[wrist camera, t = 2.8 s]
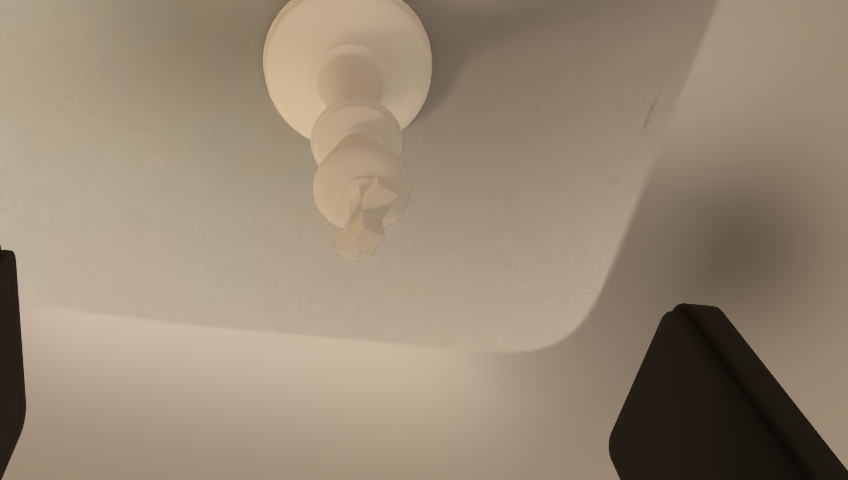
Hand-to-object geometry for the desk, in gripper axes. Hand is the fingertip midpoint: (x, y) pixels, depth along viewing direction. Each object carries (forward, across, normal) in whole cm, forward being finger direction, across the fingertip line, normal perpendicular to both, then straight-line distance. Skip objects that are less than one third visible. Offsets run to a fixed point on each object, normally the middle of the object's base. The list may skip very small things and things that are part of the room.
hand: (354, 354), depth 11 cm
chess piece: (+13, -1, 0) cm, 13 cm away
